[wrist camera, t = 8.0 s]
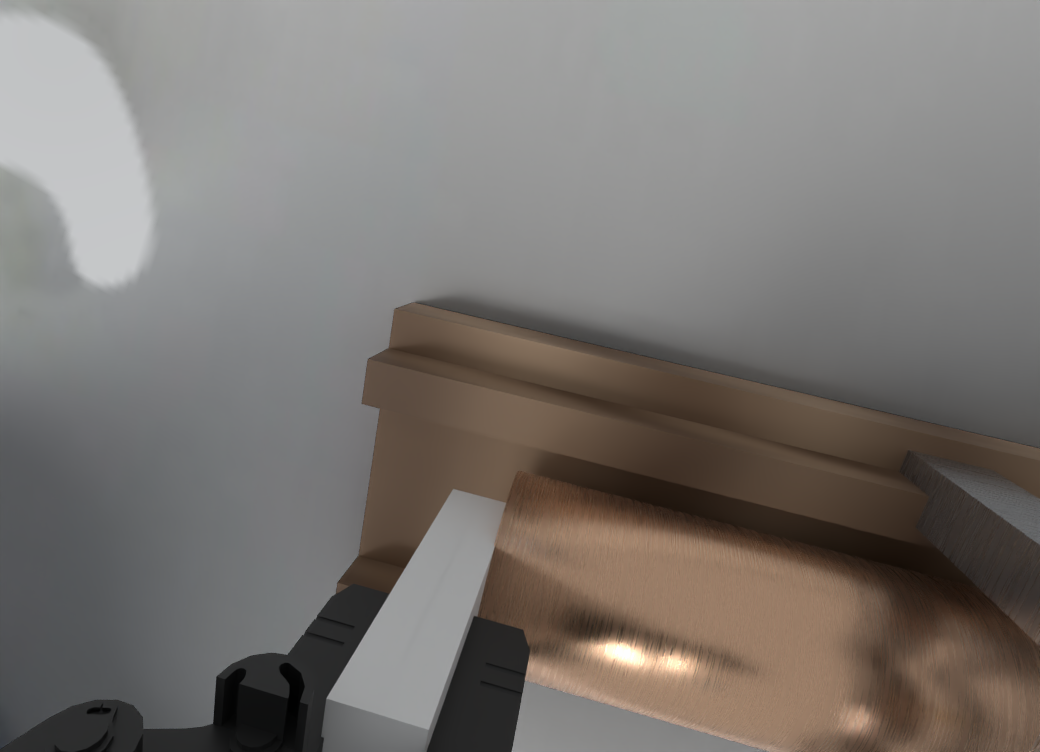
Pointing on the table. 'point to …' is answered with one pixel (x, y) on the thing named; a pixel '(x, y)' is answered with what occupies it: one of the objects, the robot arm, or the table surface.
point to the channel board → (640, 444)
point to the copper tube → (754, 631)
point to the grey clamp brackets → (984, 533)
